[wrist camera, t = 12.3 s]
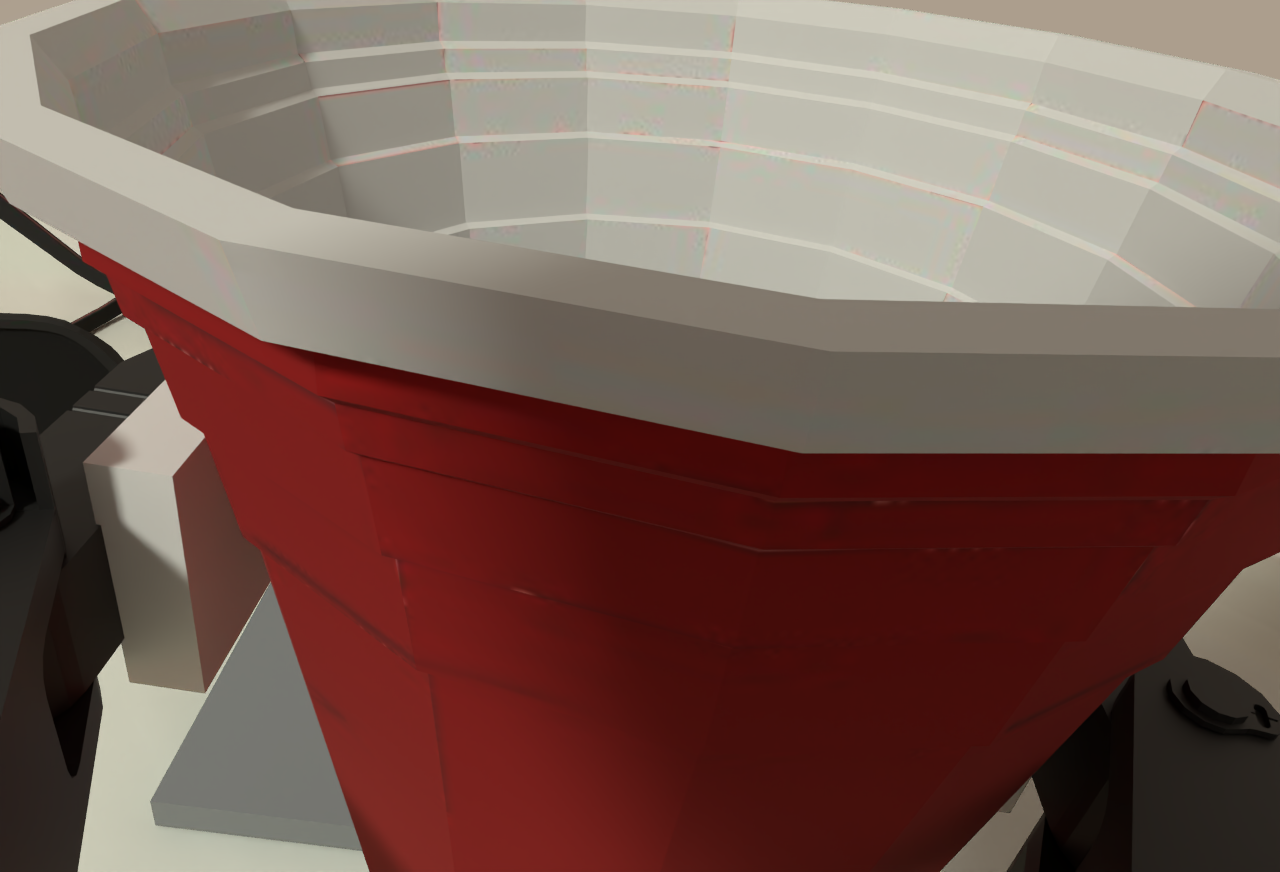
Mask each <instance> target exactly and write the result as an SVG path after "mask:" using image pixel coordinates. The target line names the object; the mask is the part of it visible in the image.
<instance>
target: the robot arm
mask: <svg viewBox="0 0 1280 872" xmlns="http://www.w3.org/2000/svg"><path fill="white" fill-rule="evenodd" d="M269 583H270V578H269V575H268V572H267V569H266V566H265V563H264V560H263V557H262V554H261V551H260V550H259V549H258V548H257V547H255V546H254V545H253V544H251V543H250V542H249V541H248V540H246V539H245V538H244V537H243V536H242V533H241V531H240V528H239V525H238V523H237V520H236V518H235V515H234V512H233V510H232V507H231V504H230V502H229V499H228V497H227V494H226V491H225V489H224V486H223V483H222V481H221V478H220V475H219V473H218V470H217V468H216V465H215V462H214V460H213V457H212V454H211V452H210V449H209V446H208V444H207V441H206V439H205V436H204V433H202V432H201V431H199V430H198V429H196V428H195V427H194V426H192V425H191V424H189V423H188V422H186V421H185V420H183V419H182V418H181V417H180V414H179V412H178V409H177V407H176V404H175V402H174V399H173V397H172V395H171V392H170V390H169V387H168V385H167V382H166V380H165V377H164V375H163V372H162V370H161V367H160V365H159V363H158V360H157V358H156V355H155V353H154V350H153V348H152V349H150V350H148V351H145V352H143V353H141V354H138V355H136V356H134V357H132V358H129V359H127V360H125V361H123V362H121V363H119V364H118V365H117V366H116V367H115V368H114V369H113V370H112V371H111V372H109V373H108V374H107V375H106V376H105V377H104V378H103V379H102V380H101V381H99V382H98V383H97V384H96V385H95V389H94V391H90V390H89V391H88V392H87V393H86V394H85V395H84V396H83V397H82V398H80V399H79V400H78V401H77V402H76V403H75V404H74V405H73V409H72V411H68V410H67V411H66V412H65V413H64V414H63V415H62V416H60V417H59V418H58V419H57V420H56V421H55V422H54V423H53V424H52V425H50V426H49V427H48V428H47V429H46V430H45V431H44V432H43V433H41V434H40V435H39V432H38V428H37V424H36V419H35V416H34V415H33V414H32V413H30V412H29V411H28V410H27V409H26V408H24V407H23V406H22V405H21V404H19V403H16V402H12V401H9V400H6V399H2V398H0V872H77V871H78V865H79V858H80V852H81V845H82V839H83V832H84V826H85V819H86V813H87V807H88V800H89V794H90V787H91V781H92V774H93V768H94V761H95V755H96V748H97V742H98V736H99V729H100V723H101V716H102V710H103V705H102V698H101V691H100V686H99V682H98V678H97V675H98V674H99V673H100V671H101V670H102V668H103V667H104V666H105V664H106V663H107V662H108V660H109V659H110V657H111V656H112V655H113V653H114V652H115V651H116V649H117V648H118V646H119V645H120V644H122V649H123V653H124V658H125V663H126V667H127V672H128V677H129V681H130V682H132V683H139V684H145V685H152V686H159V687H166V688H172V689H179V690H186V691H192V692H199V693H205V692H206V691H207V689H208V687H209V686H210V684H211V682H212V681H213V679H214V677H215V675H216V674H217V672H218V670H219V669H220V667H221V665H222V663H223V662H224V660H225V658H226V657H227V655H228V653H229V651H230V650H231V648H232V646H233V645H234V643H235V641H236V639H237V638H238V636H239V634H240V633H241V631H242V629H243V627H244V626H245V624H246V622H247V621H248V619H249V617H250V616H251V614H252V612H253V610H254V609H255V607H256V605H257V604H258V602H259V600H260V598H261V597H262V595H263V593H264V592H265V590H266V588H267V586H268V585H269ZM1031 777H1032V778H1033V781H1034V784H1035V787H1036V790H1037V793H1038V795H1039V798H1040V801H1041V804H1042V807H1043V810H1044V813H1043V815H1042V816H1041V818H1040V819H1039V821H1038V823H1037V824H1036V826H1035V827H1034V829H1033V831H1032V832H1031V834H1030V835H1029V837H1028V838H1027V840H1026V842H1025V843H1024V845H1023V846H1022V848H1021V850H1020V851H1019V853H1018V854H1017V856H1016V857H1015V859H1014V861H1013V862H1012V864H1011V865H1010V867H1009V868H1008V870H1007V872H1280V715H1279V713H1278V712H1277V711H1276V710H1275V709H1274V708H1273V707H1272V705H1271V704H1270V703H1269V702H1268V701H1267V700H1266V698H1265V697H1264V696H1263V695H1262V694H1261V693H1260V692H1258V691H1257V690H1256V689H1254V688H1253V687H1252V686H1250V685H1249V684H1248V683H1246V682H1245V681H1244V680H1242V679H1241V678H1240V677H1238V676H1237V675H1236V674H1234V673H1232V672H1230V671H1228V670H1226V669H1224V668H1222V667H1220V666H1218V665H1216V664H1214V663H1212V662H1210V661H1208V660H1206V659H1202V658H1198V657H1195V656H1193V654H1192V653H1191V651H1190V649H1189V648H1188V646H1187V644H1186V643H1185V641H1184V639H1183V638H1182V639H1181V640H1180V641H1179V642H1178V643H1177V644H1176V646H1175V647H1174V648H1173V649H1172V650H1171V651H1170V652H1169V654H1168V655H1167V656H1166V657H1165V658H1164V659H1163V660H1161V661H1159V662H1157V663H1155V664H1153V665H1151V666H1149V667H1147V668H1145V669H1143V670H1141V671H1139V672H1137V673H1135V674H1133V675H1131V676H1129V677H1127V678H1126V679H1125V680H1124V681H1123V682H1122V683H1121V684H1120V685H1119V686H1118V687H1117V688H1116V689H1115V690H1114V691H1113V692H1112V693H1111V694H1110V695H1109V696H1108V697H1107V698H1106V699H1105V700H1104V701H1103V702H1102V704H1101V705H1100V706H1099V707H1098V708H1097V709H1096V710H1095V711H1094V712H1093V713H1092V714H1091V715H1090V716H1089V717H1088V718H1087V719H1086V720H1085V721H1084V722H1083V723H1082V724H1081V725H1080V726H1079V727H1078V728H1077V729H1076V731H1075V732H1074V733H1073V734H1072V735H1071V736H1070V737H1069V738H1068V739H1067V740H1066V741H1065V742H1064V743H1063V744H1062V745H1061V746H1060V747H1059V748H1058V749H1057V750H1056V751H1055V752H1054V753H1053V754H1052V755H1051V756H1050V758H1049V759H1048V760H1047V761H1046V762H1045V763H1044V764H1043V765H1042V766H1041V767H1040V768H1039V769H1038V770H1037V771H1036V772H1035V773H1034V774H1033V775H1032V776H1031ZM1031 777H1030V778H1031ZM1030 778H1029V779H1028V780H1027V781H1026V782H1025V783H1024V785H1023V786H1022V787H1021V788H1020V789H1019V790H1018V791H1017V792H1016V793H1015V794H1014V795H1013V796H1012V797H1011V798H1010V799H1009V800H1008V801H1007V802H1006V803H1005V804H1004V805H1003V806H1002V807H1001V808H1000V809H999V812H1006V813H1010V812H1011V810H1012V808H1013V807H1014V805H1015V803H1016V802H1017V800H1018V798H1019V797H1020V795H1021V793H1022V792H1023V790H1024V788H1025V787H1026V785H1027V783H1028V782H1029V780H1030Z"/></svg>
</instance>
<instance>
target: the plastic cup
mask: <svg viewBox="0 0 1280 872" xmlns="http://www.w3.org/2000/svg"><path fill="white" fill-rule="evenodd" d="M0 189H1V191H2V192H3V194H4V196H5V197H6V199H7V200H8V202H9V204H11V205H13V206H15V207H17V208H19V209H20V210H22V211H24V212H26V213H28V214H30V215H31V216H33V217H35V218H37V219H39V220H41V221H43V222H44V223H46V224H48V225H50V226H52V227H54V228H55V229H57V230H59V231H61V232H63V233H65V234H66V235H68V236H70V237H72V238H74V239H76V240H77V241H78V243H79V247H80V252H81V256H82V261H83V262H85V263H87V264H88V265H90V266H92V267H94V268H95V269H97V270H99V271H101V272H102V273H104V274H106V276H107V278H108V280H109V283H110V285H111V288H112V290H113V292H114V295H115V297H116V299H117V302H118V304H119V307H120V309H121V311H122V314H123V316H125V317H126V318H128V319H130V320H131V321H133V322H135V323H136V324H138V325H140V326H141V327H143V328H145V331H146V333H147V335H148V338H149V340H150V343H151V345H152V348H153V350H154V353H155V355H156V358H157V360H158V363H159V365H160V367H161V370H162V372H163V375H164V377H165V380H166V382H167V385H168V387H169V390H170V392H171V395H172V397H173V399H174V402H175V404H176V407H177V409H178V412H179V414H180V417H181V418H182V419H183V420H185V421H186V422H188V423H189V424H191V425H192V426H194V427H195V428H196V429H198V430H199V431H201V432H202V433H204V436H205V439H206V441H207V444H208V446H209V449H210V452H211V454H212V457H213V460H214V462H215V465H216V468H217V470H218V473H219V475H220V478H221V481H222V483H223V486H224V489H225V491H226V494H227V497H228V499H229V502H230V504H231V507H232V510H233V512H234V515H235V518H236V520H237V523H238V525H239V528H240V531H241V533H242V536H243V537H244V538H245V539H246V540H248V541H249V542H250V543H251V544H253V545H254V546H255V547H257V548H258V549H259V550H260V551H261V554H262V557H263V560H264V563H265V566H266V569H267V572H268V575H269V578H270V581H271V584H272V587H273V590H274V593H275V596H276V598H277V601H278V604H279V607H280V610H281V613H282V616H283V619H284V622H285V625H286V628H287V631H288V634H289V637H290V640H291V643H292V645H293V648H294V651H295V654H296V657H297V660H298V663H299V666H300V669H301V672H302V675H303V678H304V681H305V684H306V687H307V690H308V692H309V695H310V698H311V701H312V704H313V707H314V710H315V713H316V716H317V719H318V722H319V725H320V728H321V731H322V734H323V737H324V739H325V742H326V745H327V748H328V751H329V754H330V757H331V760H332V763H333V766H334V769H335V772H336V775H337V778H338V781H339V784H340V786H341V789H342V792H343V795H344V798H345V801H346V804H347V807H348V810H349V813H350V816H351V819H352V822H353V825H354V827H355V830H356V833H357V836H358V839H359V842H360V845H361V848H362V851H363V854H364V857H365V860H366V863H367V865H368V868H369V871H370V872H940V871H941V870H942V869H943V868H944V867H945V866H946V865H947V863H948V862H949V861H950V860H951V859H952V858H953V857H954V856H955V855H956V854H957V853H958V852H959V851H960V850H961V849H962V848H963V847H964V846H965V845H966V844H967V843H968V842H969V841H970V840H971V839H972V838H973V836H974V835H975V834H976V833H977V832H978V831H979V830H980V829H981V828H982V827H983V826H984V825H985V824H986V823H987V822H988V821H989V820H990V819H991V818H992V817H993V816H994V815H995V814H996V813H997V812H998V811H999V809H1000V808H1001V807H1002V806H1003V805H1004V804H1005V803H1006V802H1007V801H1008V800H1009V799H1010V798H1011V797H1012V796H1013V795H1014V794H1015V793H1016V792H1017V791H1018V790H1019V789H1020V788H1021V787H1022V786H1023V785H1024V783H1025V782H1026V781H1027V780H1028V779H1029V778H1030V777H1031V776H1032V775H1033V774H1034V773H1035V772H1036V771H1037V770H1038V769H1039V768H1040V767H1041V766H1042V765H1043V764H1044V763H1045V762H1046V761H1047V760H1048V759H1049V758H1050V756H1051V755H1052V754H1053V753H1054V752H1055V751H1056V750H1057V749H1058V748H1059V747H1060V746H1061V745H1062V744H1063V743H1064V742H1065V741H1066V740H1067V739H1068V738H1069V737H1070V736H1071V735H1072V734H1073V733H1074V732H1075V731H1076V729H1077V728H1078V727H1079V726H1080V725H1081V724H1082V723H1083V722H1084V721H1085V720H1086V719H1087V718H1088V717H1089V716H1090V715H1091V714H1092V713H1093V712H1094V711H1095V710H1096V709H1097V708H1098V707H1099V706H1100V705H1101V704H1102V702H1103V701H1104V700H1105V699H1106V698H1107V697H1108V696H1109V695H1110V694H1111V693H1112V692H1113V691H1114V690H1115V689H1116V688H1117V687H1118V686H1119V685H1120V684H1121V683H1122V682H1123V681H1124V680H1125V679H1126V678H1127V677H1129V676H1131V675H1133V674H1135V673H1137V672H1139V671H1141V670H1143V669H1145V668H1147V667H1149V666H1151V665H1153V664H1155V663H1157V662H1159V661H1161V660H1163V659H1164V658H1165V657H1166V656H1167V655H1168V654H1169V652H1170V651H1171V650H1172V649H1173V648H1174V647H1175V646H1176V644H1177V643H1178V642H1179V641H1180V640H1181V639H1182V638H1183V637H1184V635H1185V634H1186V633H1187V632H1188V631H1189V630H1190V629H1191V627H1192V626H1193V625H1194V624H1195V623H1196V622H1197V621H1198V620H1199V618H1200V617H1201V616H1202V615H1203V614H1204V613H1205V612H1206V610H1207V609H1208V608H1209V607H1210V606H1211V605H1212V604H1213V603H1214V601H1215V600H1216V599H1217V598H1218V597H1219V596H1220V595H1221V593H1222V592H1223V591H1224V590H1225V589H1226V588H1227V587H1228V585H1229V584H1230V583H1231V582H1232V581H1233V580H1234V579H1235V578H1236V576H1237V575H1238V574H1239V573H1240V572H1241V571H1242V570H1243V569H1244V568H1246V567H1249V566H1251V565H1253V564H1255V563H1257V562H1260V561H1262V560H1264V559H1266V558H1268V557H1270V556H1273V555H1275V554H1277V553H1279V552H1280V80H1278V79H1274V78H1271V77H1267V76H1264V75H1260V74H1256V73H1253V72H1248V71H1244V70H1239V69H1234V68H1229V67H1224V66H1219V65H1214V64H1210V63H1205V62H1200V61H1195V60H1190V59H1185V58H1180V57H1175V56H1171V55H1166V54H1161V53H1156V52H1151V51H1146V50H1141V49H1137V48H1132V47H1126V46H1122V45H1117V44H1112V43H1107V42H1103V41H1098V40H1093V39H1088V38H1083V37H1078V36H1073V35H1067V34H1060V33H1054V32H1047V31H1041V30H1034V29H1028V28H1022V27H1015V26H1009V25H1003V24H996V23H990V22H983V21H976V20H970V19H963V18H958V17H951V16H945V15H938V14H932V13H925V12H919V11H912V10H905V9H898V8H890V7H880V6H872V5H863V4H855V3H846V2H836V1H828V0H74V1H71V2H68V3H65V4H62V5H60V6H56V7H54V8H50V9H47V10H44V11H41V12H39V13H35V14H33V15H29V16H27V17H23V18H20V19H17V20H14V21H11V22H9V23H5V24H2V25H0Z"/></svg>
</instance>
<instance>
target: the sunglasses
mask: <svg viewBox="0 0 1280 872" xmlns="http://www.w3.org/2000/svg"><path fill="white" fill-rule="evenodd" d="M0 219H2V220H3V221H4V222H6V223H7V224H8V225H10V226H11V227H13V228H14V229H15V230H17V231H18V232H19V233H21V234H22V235H24V236H25V237H26V238H28V239H29V240H31V241H32V242H33V243H35V244H36V245H37V246H39V247H40V248H42V249H43V250H44V251H46V252H47V253H49V254H50V255H51V256H53V257H54V258H55V259H57V260H58V261H60V262H61V263H62V264H64V265H65V266H67V267H68V268H69V269H71V270H72V271H73V272H75V273H76V274H78V275H80V276H81V277H83V278H85V279H86V280H88V281H90V282H91V283H93V284H95V285H97V286H99V287H101V288H103V289H105V290H107V291H109V292H111V293H113V294H114V292H113V290H112V288H111V285H110V283H109V280H108V278H107V276H106V274H104V273H102V272H101V271H99V270H97V269H95V268H94V267H92V266H90V265H88V264H87V263H85V262H83V261H82V257H81V256H80V255H78V254H77V253H76V252H74V251H73V250H72V249H71V248H69V247H68V246H67V245H66V244H64V243H63V242H62V241H61V240H59V239H58V238H57V237H56V236H54V235H53V234H52V233H51V232H49V231H48V230H47V229H45V228H44V227H43V226H42V225H40V224H39V223H38V222H37V221H35V220H34V219H33V218H32V217H30V216H29V215H28V214H27V213H25V212H24V211H22V210H20V209H19V208H17V207H15V206H13V205H11V204H9V202H8V200H7V199H6V197H5V196H4V195H3V194H1V193H0ZM121 313H122V311H121V309H120V307H119V304H118V302H117V299H116V298H114V299H112V300H111V301H109V302H108V303H106V304H104V305H103V306H101V307H99V308H98V309H96V310H94V311H92V312H90V313H88V314H86V315H84V316H83V317H81V318H79V319H77V320H75V321H73V322H71V323H69V322H67V321H65V320H61V319H57V318H53V317H49V316H40V315H31V314H11V313H0V398H2V399H6V400H9V401H12V402H16V403H19V404H21V405H22V406H23V407H24V408H26V409H27V410H28V411H29V412H30V413H32V414H33V415H34V416H35V419H36V424H37V428H38V432H39V435H40V434H41V433H43V432H44V431H45V430H46V429H47V428H48V427H49V426H50V425H52V424H53V423H54V422H55V421H56V420H57V419H58V418H59V417H60V416H62V415H63V414H64V413H65V412H66V411H67V410H68V411H72V409H73V405H74V404H75V403H76V402H77V401H78V400H79V399H80V398H82V397H83V396H84V395H85V394H86V393H87V392H88V391H89V390H90V391H94V389H95V385H96V384H97V383H98V382H99V381H101V380H102V379H103V378H104V377H105V376H106V375H107V374H108V373H109V372H111V371H112V370H113V369H114V368H115V367H116V366H117V365H118V364H119V363H121V362H123V361H124V360H123V359H122V358H121V356H120V355H119V354H118V353H117V352H116V351H115V350H114V349H113V348H112V347H111V346H110V345H108V344H107V343H105V342H104V341H103V340H101V339H99V338H98V337H96V336H95V335H93V334H92V333H90V331H92V330H94V329H96V328H97V327H99V326H101V325H103V324H105V323H106V322H108V321H110V320H112V319H113V318H115V317H116V316H118V315H120V314H121Z"/></svg>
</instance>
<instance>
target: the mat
mask: <svg viewBox="0 0 1280 872" xmlns="http://www.w3.org/2000/svg"><path fill="white" fill-rule="evenodd" d="M150 802H151V806H152V811H153V816H154V820H155V825H158V826H167V827H175V828H183V829H191V830H199V831H207V832H215V833H223V834H231V835H239V836H247V837H255V838H263V839H271V840H280V841H288V842H296V843H304V844H312V845H320V846H328V847H336V848H344V849H352V850H360V851H362V848H361V845H360V842H359V839H358V836H357V833H356V830H355V827H354V825H353V822H352V819H351V816H350V813H349V810H348V807H347V804H346V801H345V798H344V795H343V792H342V789H341V786H340V784H339V781H338V778H337V775H336V772H335V769H334V766H333V763H332V760H331V757H330V754H329V751H328V748H327V745H326V742H325V739H324V737H323V734H322V731H321V728H320V725H319V722H318V719H317V716H316V713H315V710H314V707H313V704H312V701H311V698H310V695H309V692H308V690H307V687H306V684H305V681H304V678H303V675H302V672H301V669H300V666H299V663H298V660H297V657H296V654H295V651H294V648H293V645H292V643H291V640H290V637H289V634H288V631H287V628H286V625H285V622H284V619H283V616H282V613H281V610H280V607H279V604H278V601H277V598H276V596H275V593H274V590H273V587H272V584H271V583H270V585H269V586H268V588H267V590H266V592H265V594H264V595H263V597H262V599H261V601H260V603H259V605H258V606H257V608H256V610H255V612H254V614H253V615H252V617H251V619H250V621H249V623H248V625H247V626H246V628H245V630H244V632H243V634H242V635H241V637H240V639H239V641H238V643H237V645H236V646H235V648H234V650H233V652H232V654H231V655H230V657H229V659H228V661H227V663H226V665H225V666H224V668H223V670H222V672H221V674H220V676H219V677H218V679H217V681H216V683H215V685H214V686H213V688H212V690H211V692H210V694H209V696H208V697H207V699H206V701H205V703H204V705H203V706H202V708H201V710H200V712H199V714H198V716H197V717H196V719H195V721H194V723H193V725H192V726H191V728H190V730H189V732H188V734H187V736H186V737H185V739H184V741H183V743H182V745H181V746H180V748H179V750H178V752H177V754H176V756H175V757H174V759H173V761H172V763H171V765H170V767H169V768H168V770H167V772H166V774H165V776H164V777H163V779H162V781H161V783H160V785H159V787H158V788H157V790H156V792H155V794H154V796H153V797H152V799H151V801H150Z"/></svg>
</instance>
